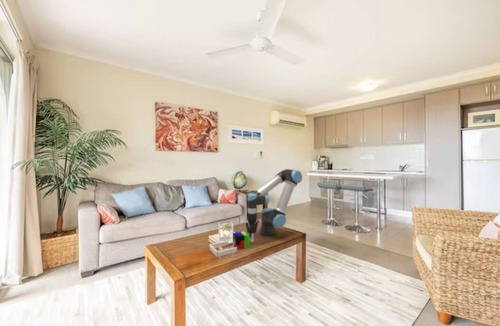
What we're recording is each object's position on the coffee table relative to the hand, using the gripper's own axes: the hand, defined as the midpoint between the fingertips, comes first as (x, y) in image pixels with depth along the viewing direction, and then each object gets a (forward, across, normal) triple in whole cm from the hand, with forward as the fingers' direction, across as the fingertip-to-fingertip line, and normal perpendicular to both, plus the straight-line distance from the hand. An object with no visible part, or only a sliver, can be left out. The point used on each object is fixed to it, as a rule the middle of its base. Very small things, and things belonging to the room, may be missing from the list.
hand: (251, 240), depth 180 cm
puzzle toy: (+3, +11, 0) cm, 11 cm away
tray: (+2, +26, 0) cm, 26 cm away
